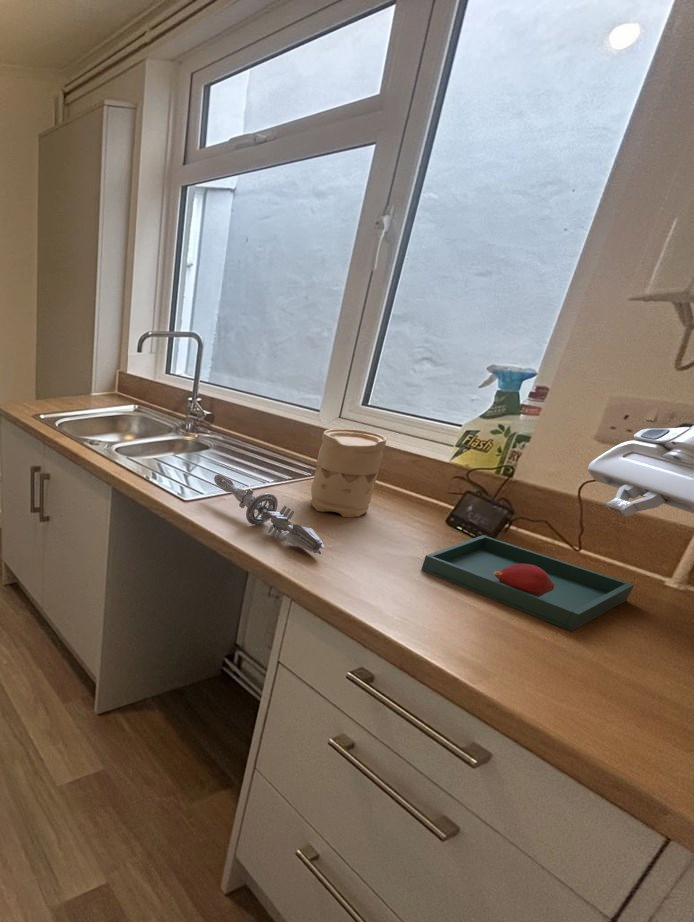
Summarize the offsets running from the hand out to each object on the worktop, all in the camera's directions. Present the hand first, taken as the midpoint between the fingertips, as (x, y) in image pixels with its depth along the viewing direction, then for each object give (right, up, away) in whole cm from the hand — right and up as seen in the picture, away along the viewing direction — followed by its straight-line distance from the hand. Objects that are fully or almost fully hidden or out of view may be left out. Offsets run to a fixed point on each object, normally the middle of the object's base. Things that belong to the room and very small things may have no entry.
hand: (615, 511), depth 88 cm
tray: (-10, -13, +6) cm, 18 cm away
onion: (-11, -13, -1) cm, 17 cm away
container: (-22, 0, +40) cm, 46 cm away
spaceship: (-46, -4, +31) cm, 55 cm away
